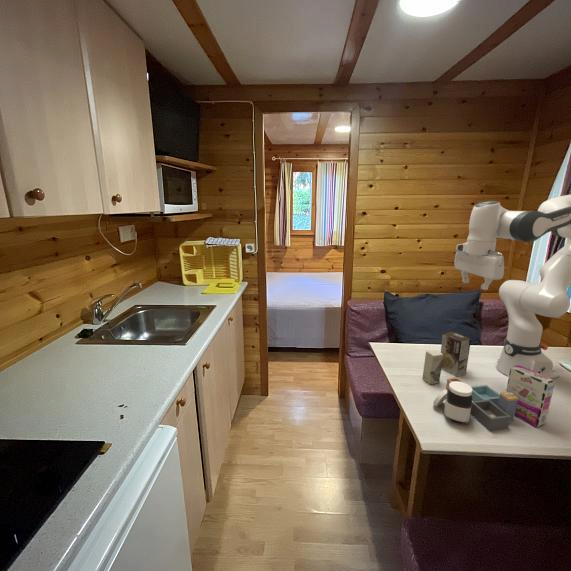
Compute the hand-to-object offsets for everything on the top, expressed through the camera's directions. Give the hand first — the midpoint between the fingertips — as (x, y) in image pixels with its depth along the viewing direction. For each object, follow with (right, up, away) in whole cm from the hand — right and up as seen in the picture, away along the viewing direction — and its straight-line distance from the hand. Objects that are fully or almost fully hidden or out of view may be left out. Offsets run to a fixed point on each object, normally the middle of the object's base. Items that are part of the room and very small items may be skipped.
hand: (474, 285), depth 114 cm
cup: (-4, -41, +6) cm, 42 cm away
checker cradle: (-1, -45, -9) cm, 46 cm away
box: (-10, -39, +14) cm, 43 cm away
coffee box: (+3, -37, +22) cm, 43 cm away
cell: (+5, -45, -9) cm, 46 cm away
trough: (+4, -42, +1) cm, 43 cm away
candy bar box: (+12, -45, -7) cm, 47 cm away
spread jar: (-12, -45, -6) cm, 47 cm away
